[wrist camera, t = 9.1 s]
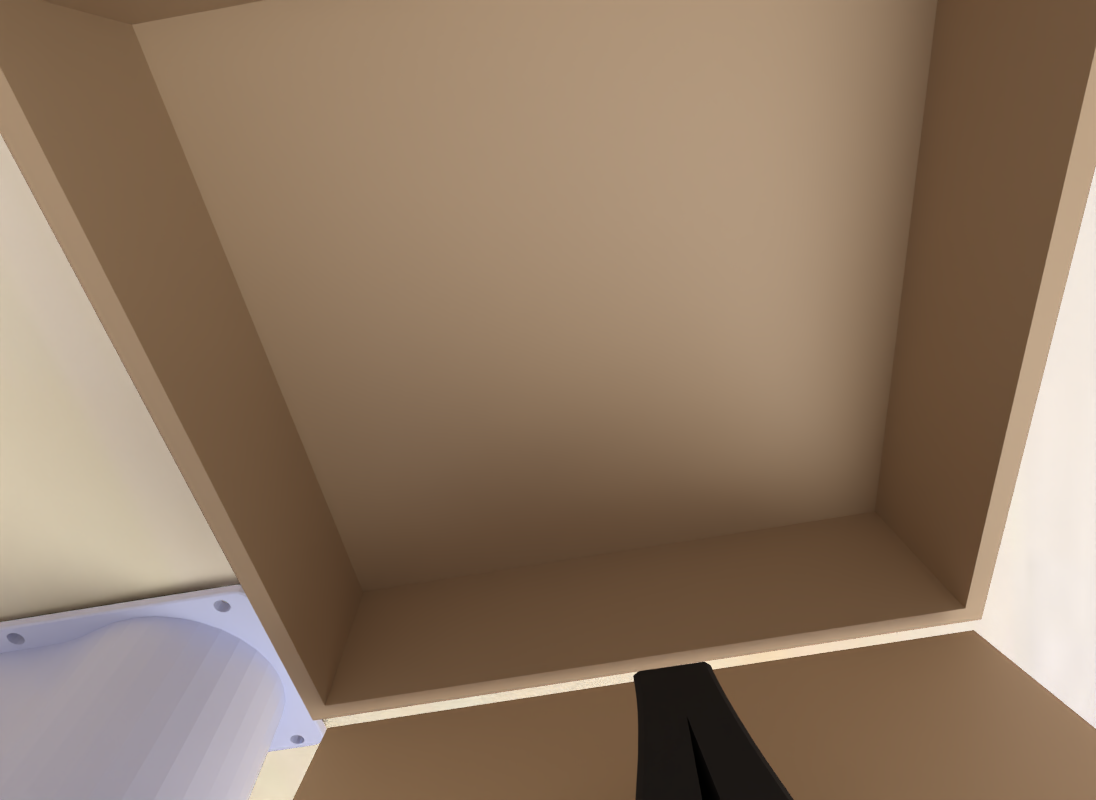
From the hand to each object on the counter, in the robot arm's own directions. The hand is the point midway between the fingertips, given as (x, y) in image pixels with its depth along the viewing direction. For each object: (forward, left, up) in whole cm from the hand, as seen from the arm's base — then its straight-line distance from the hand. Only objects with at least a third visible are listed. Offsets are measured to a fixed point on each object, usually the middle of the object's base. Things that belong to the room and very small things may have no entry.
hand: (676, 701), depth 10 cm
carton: (0, +5, -8) cm, 9 cm away
